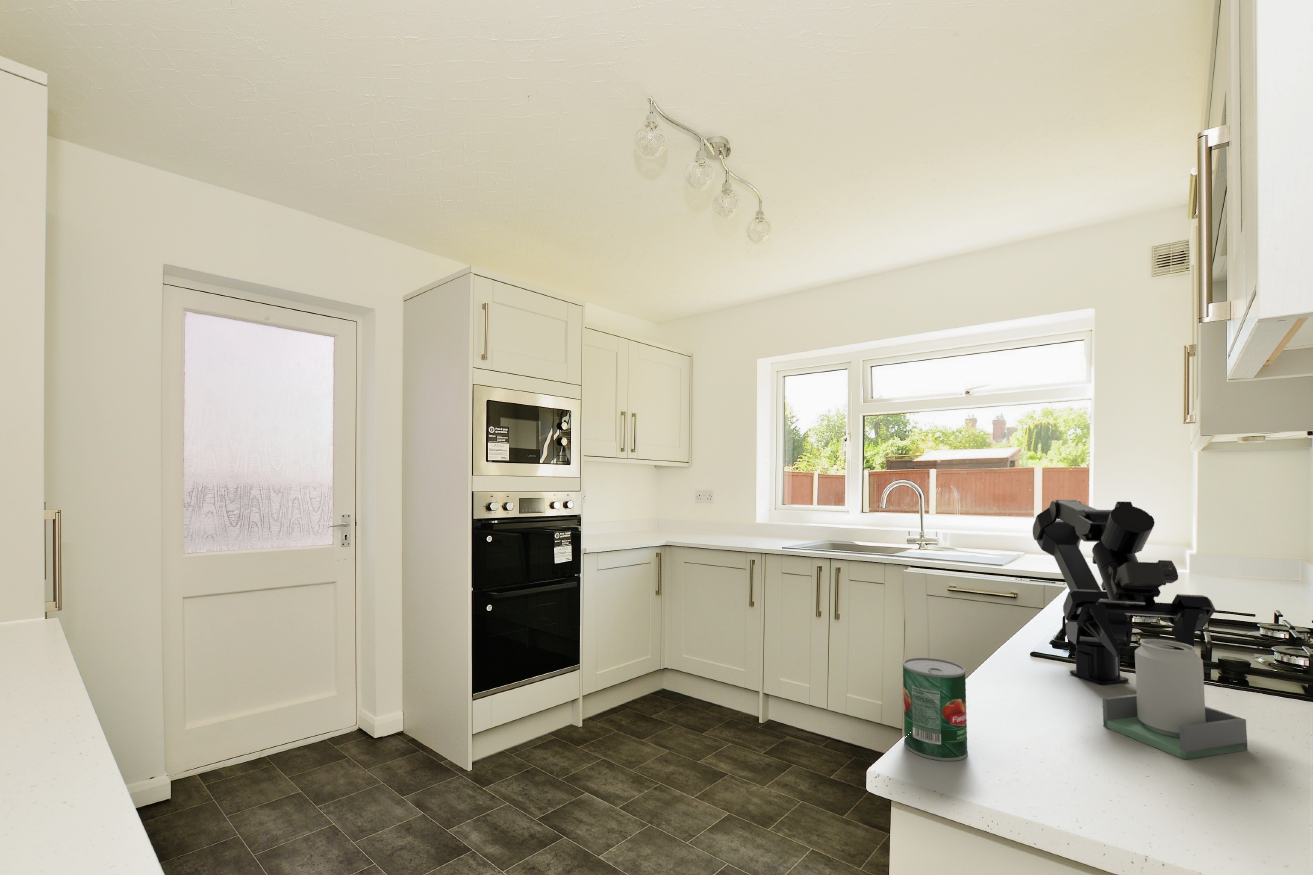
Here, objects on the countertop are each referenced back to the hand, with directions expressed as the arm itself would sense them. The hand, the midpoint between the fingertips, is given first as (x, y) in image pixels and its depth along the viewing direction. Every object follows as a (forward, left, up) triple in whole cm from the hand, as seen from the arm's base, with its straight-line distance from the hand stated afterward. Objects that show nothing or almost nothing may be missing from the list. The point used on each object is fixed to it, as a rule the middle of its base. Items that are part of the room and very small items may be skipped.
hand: (1154, 658), depth 93 cm
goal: (+2, +4, -10) cm, 11 cm away
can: (+2, +4, -9) cm, 10 cm away
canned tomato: (+37, -2, -10) cm, 38 cm away
